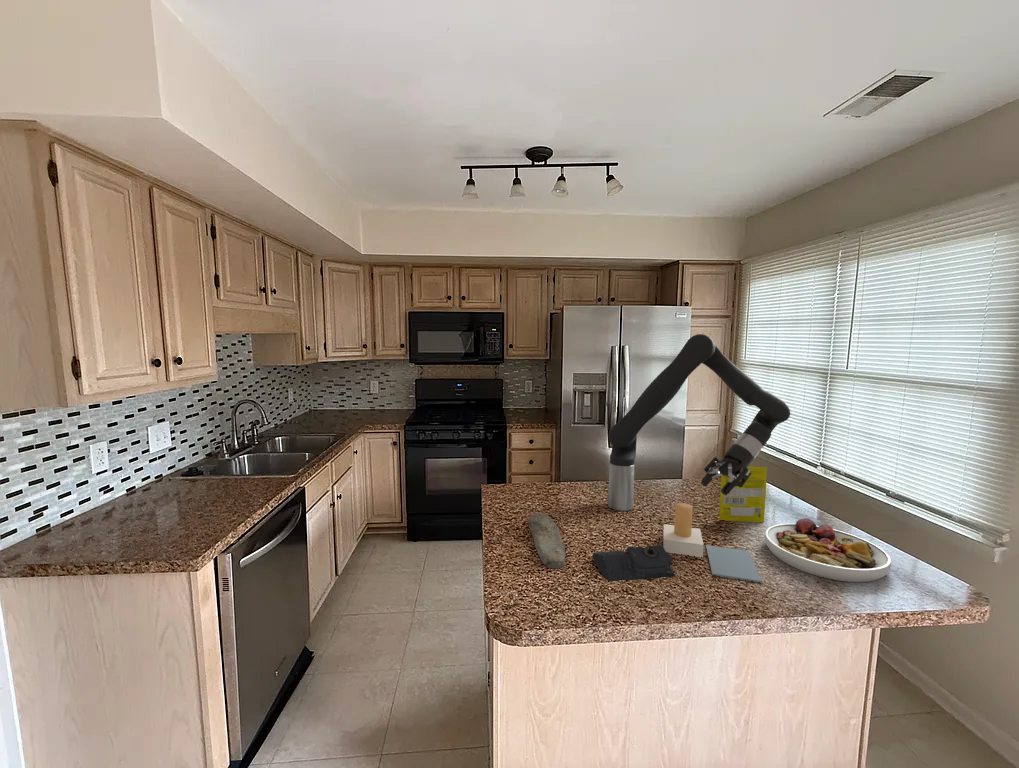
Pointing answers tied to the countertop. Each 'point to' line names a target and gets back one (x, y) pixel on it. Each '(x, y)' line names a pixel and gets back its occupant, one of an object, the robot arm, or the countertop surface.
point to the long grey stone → (547, 540)
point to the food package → (745, 498)
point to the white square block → (683, 542)
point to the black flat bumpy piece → (634, 563)
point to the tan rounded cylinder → (683, 520)
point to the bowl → (827, 552)
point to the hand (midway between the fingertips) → (712, 489)
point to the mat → (732, 563)
